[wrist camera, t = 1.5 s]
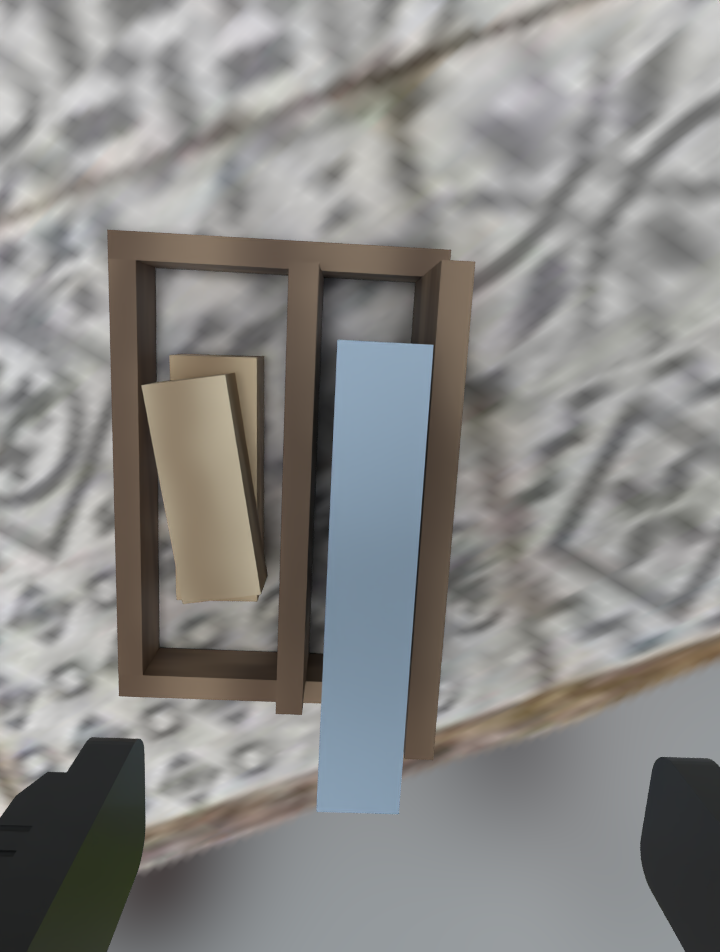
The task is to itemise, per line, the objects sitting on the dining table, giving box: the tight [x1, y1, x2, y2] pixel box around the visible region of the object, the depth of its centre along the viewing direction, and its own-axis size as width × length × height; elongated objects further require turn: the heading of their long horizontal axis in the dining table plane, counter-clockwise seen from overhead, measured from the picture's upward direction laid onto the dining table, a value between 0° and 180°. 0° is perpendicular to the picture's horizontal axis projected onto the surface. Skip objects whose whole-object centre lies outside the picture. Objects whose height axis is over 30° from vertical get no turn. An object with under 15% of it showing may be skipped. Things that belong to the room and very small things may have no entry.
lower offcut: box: [170, 354, 264, 602], centre depth 33 cm, size 4×12×3 cm, turn 178°
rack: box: [107, 230, 475, 760], centre depth 29 cm, size 15×22×9 cm
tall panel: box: [317, 340, 434, 814], centre depth 26 cm, size 2×14×16 cm, turn 177°
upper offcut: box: [141, 372, 267, 604], centre depth 30 cm, size 4×10×2 cm, turn 7°
